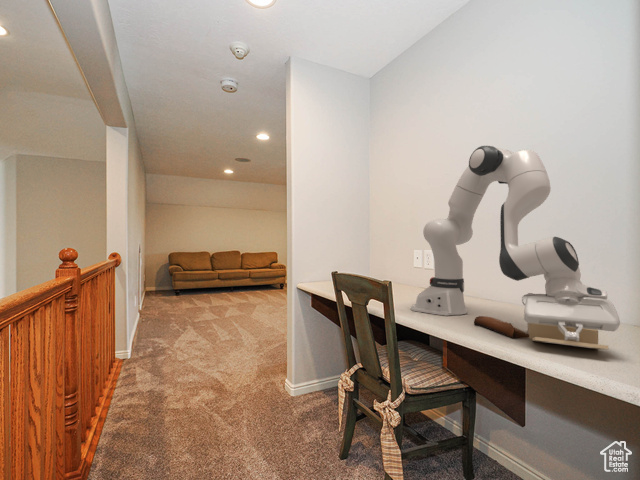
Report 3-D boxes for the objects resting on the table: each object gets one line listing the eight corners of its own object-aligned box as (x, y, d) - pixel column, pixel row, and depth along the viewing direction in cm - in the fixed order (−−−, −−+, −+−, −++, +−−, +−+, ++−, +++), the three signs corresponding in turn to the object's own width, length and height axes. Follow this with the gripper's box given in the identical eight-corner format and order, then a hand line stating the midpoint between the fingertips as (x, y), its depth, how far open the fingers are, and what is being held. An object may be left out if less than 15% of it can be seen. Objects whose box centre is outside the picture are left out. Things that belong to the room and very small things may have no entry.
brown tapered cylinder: (536, 338, 99) (527, 320, 98) (520, 351, 97) (510, 333, 97) (493, 323, 116) (485, 308, 115) (479, 334, 115) (470, 319, 114)
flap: (531, 341, 96) (535, 340, 86) (531, 338, 96) (535, 336, 86) (596, 349, 89) (608, 349, 79) (596, 346, 89) (608, 345, 79)
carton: (529, 340, 97) (529, 323, 97) (527, 332, 105) (527, 316, 105) (598, 348, 89) (598, 330, 89) (590, 340, 97) (590, 323, 97)
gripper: (522, 286, 94) (524, 328, 85) (614, 291, 84) (627, 339, 75) (521, 299, 98) (523, 340, 89) (609, 305, 88) (621, 352, 79)
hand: (572, 339), depth 82 cm, fingers closed, pressing on flap
